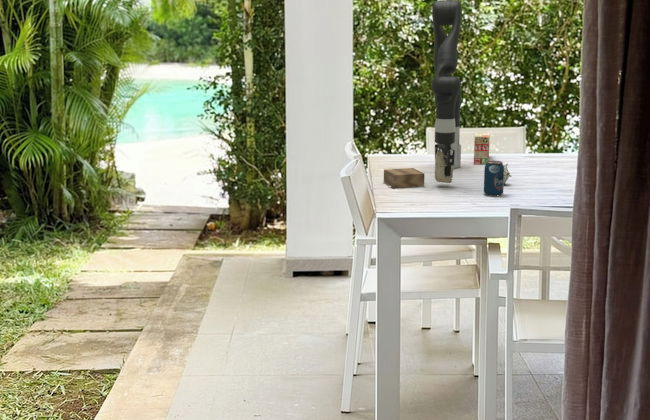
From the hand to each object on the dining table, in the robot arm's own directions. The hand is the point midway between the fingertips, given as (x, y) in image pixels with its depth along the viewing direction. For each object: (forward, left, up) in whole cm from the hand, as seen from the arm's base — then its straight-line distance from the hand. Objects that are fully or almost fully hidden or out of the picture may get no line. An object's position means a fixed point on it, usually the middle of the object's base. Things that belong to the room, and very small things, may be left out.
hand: (443, 174), depth 362 cm
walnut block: (+13, -8, -5) cm, 16 cm away
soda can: (-12, +18, -5) cm, 22 cm away
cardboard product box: (-37, -47, -5) cm, 60 cm away
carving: (0, 0, -3) cm, 3 cm away
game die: (-22, +2, -5) cm, 23 cm away
